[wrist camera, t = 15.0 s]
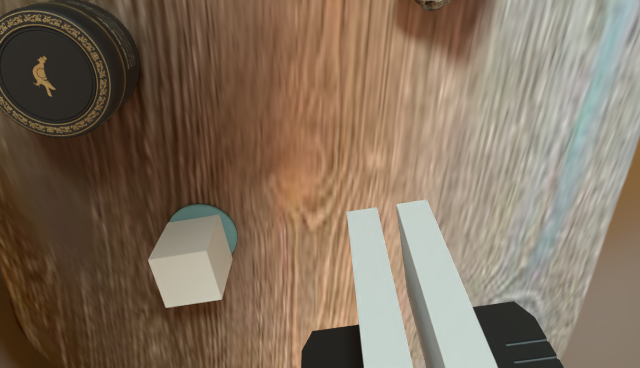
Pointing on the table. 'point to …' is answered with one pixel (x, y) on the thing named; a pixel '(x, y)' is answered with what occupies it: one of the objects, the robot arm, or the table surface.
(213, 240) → the white rectangular block
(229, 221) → the teal post on base
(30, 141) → the table surface
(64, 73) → the jar
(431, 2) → the rock
